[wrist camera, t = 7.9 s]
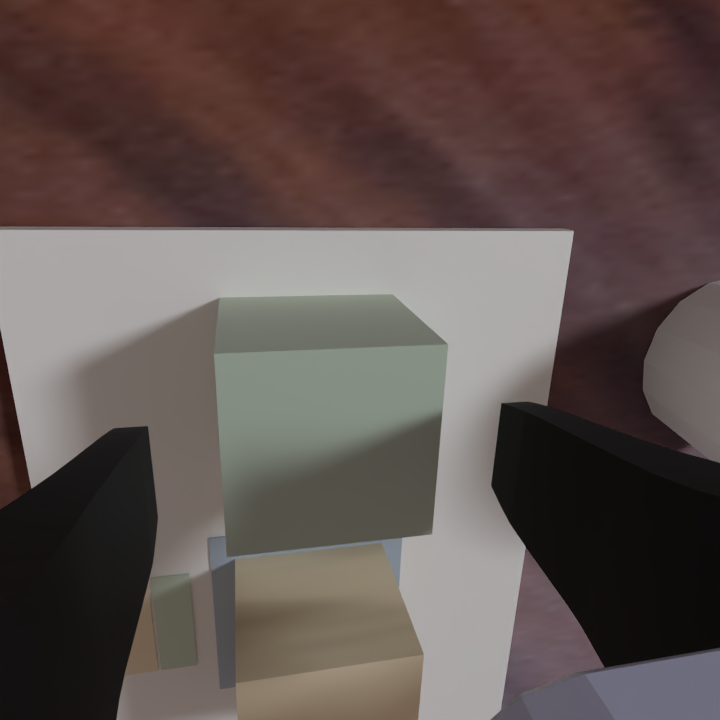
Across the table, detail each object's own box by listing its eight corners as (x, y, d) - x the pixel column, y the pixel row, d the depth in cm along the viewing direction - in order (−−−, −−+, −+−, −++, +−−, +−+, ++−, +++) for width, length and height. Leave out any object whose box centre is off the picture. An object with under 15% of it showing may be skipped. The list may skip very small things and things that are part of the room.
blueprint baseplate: (480, 791, 25) (486, 807, 24) (112, 868, 22) (108, 889, 21) (562, 228, 17) (575, 231, 16) (-9, 226, 14) (-21, 230, 13)
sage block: (385, 443, 17) (432, 534, 13) (228, 455, 16) (226, 557, 12) (392, 293, 16) (448, 344, 12) (219, 297, 15) (213, 353, 11)
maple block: (376, 652, 20) (412, 781, 16) (241, 673, 19) (243, 815, 15) (381, 542, 18) (424, 654, 14) (234, 559, 17) (235, 683, 13)
